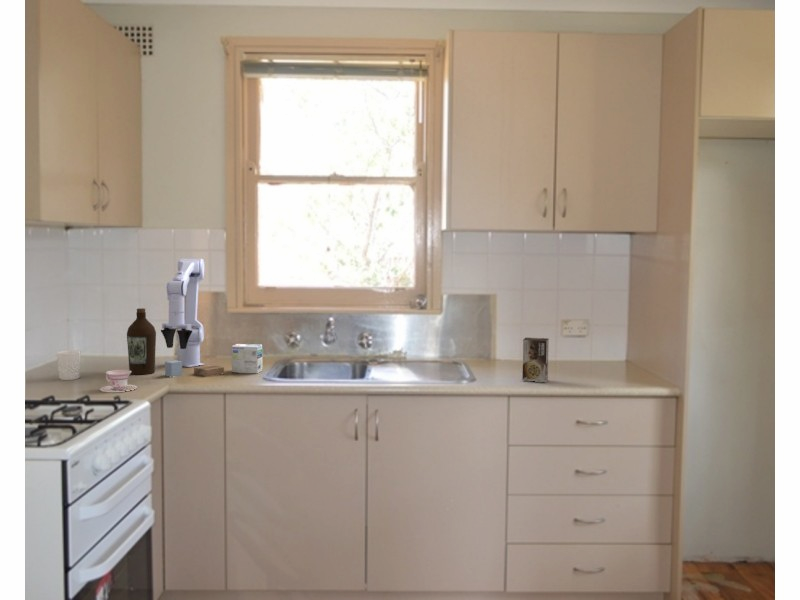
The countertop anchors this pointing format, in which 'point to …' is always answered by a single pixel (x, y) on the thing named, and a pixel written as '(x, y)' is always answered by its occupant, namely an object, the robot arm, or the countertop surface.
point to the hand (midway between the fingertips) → (176, 348)
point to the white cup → (69, 364)
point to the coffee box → (535, 359)
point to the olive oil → (141, 345)
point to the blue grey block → (173, 368)
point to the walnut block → (208, 370)
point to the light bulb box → (247, 358)
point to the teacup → (117, 381)
